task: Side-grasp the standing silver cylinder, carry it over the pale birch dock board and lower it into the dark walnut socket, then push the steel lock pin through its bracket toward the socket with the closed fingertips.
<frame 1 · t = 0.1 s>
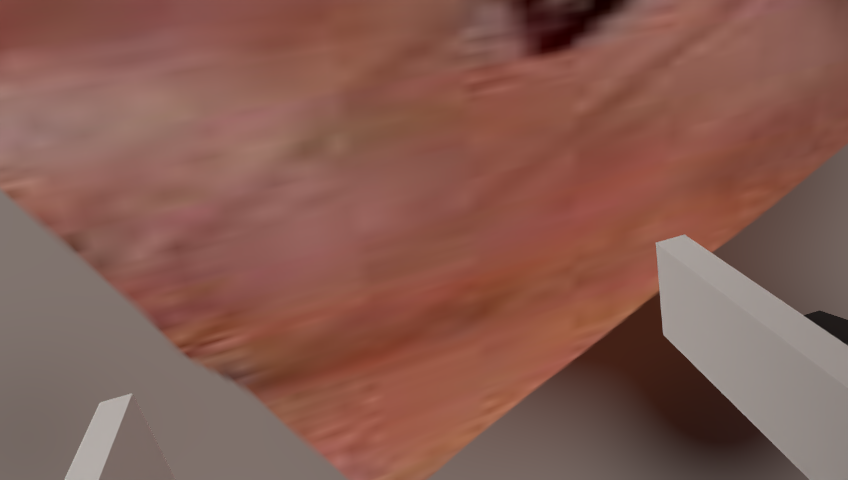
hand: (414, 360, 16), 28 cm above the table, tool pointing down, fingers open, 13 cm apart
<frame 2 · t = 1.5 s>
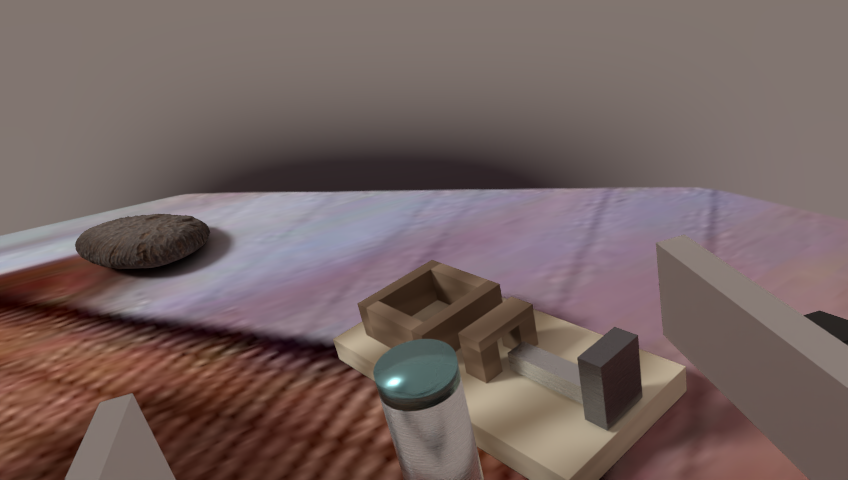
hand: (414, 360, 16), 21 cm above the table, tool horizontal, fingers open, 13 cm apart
lock pin: (563, 357, 41), point 5 cm above the table, slide at 0.0 cm
decorative stone: (153, 257, 85), on the table
dock: (492, 373, 49), on the table
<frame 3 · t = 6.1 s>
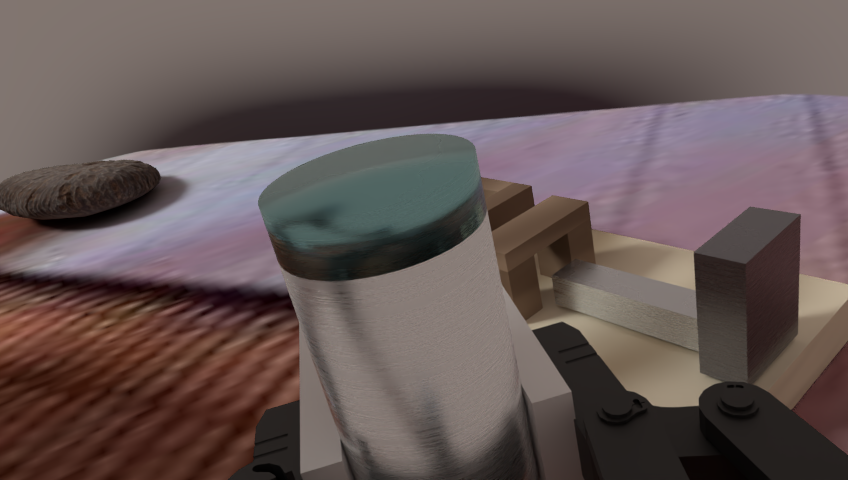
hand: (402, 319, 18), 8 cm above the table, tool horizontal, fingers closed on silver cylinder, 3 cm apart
lock pin: (653, 271, 24), point 5 cm above the table, slide at 0.0 cm
decorative stone: (91, 210, 68), on the table
dock: (523, 318, 31), on the table
when the fingers open (12 cm above the table, at t = 11.1 s): silver cylinder drops 2 cm, resting on dock.
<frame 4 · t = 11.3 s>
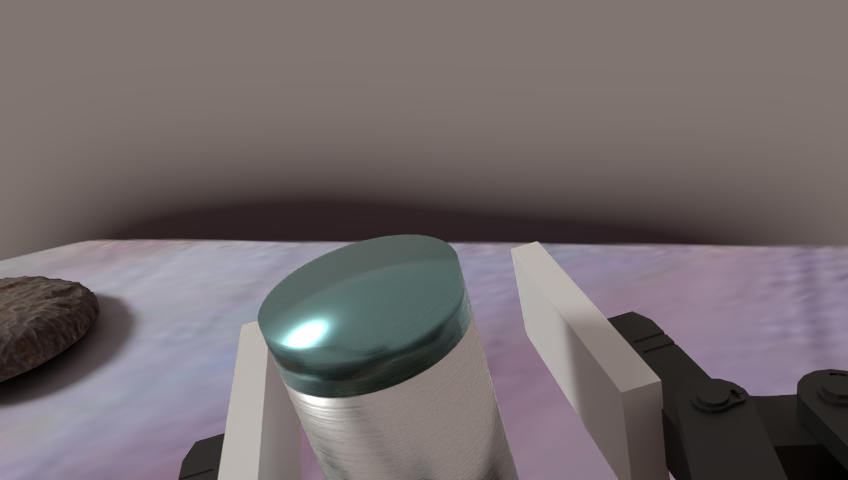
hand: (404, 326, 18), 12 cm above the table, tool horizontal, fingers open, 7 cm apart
decorative stone: (7, 353, 51), on the table
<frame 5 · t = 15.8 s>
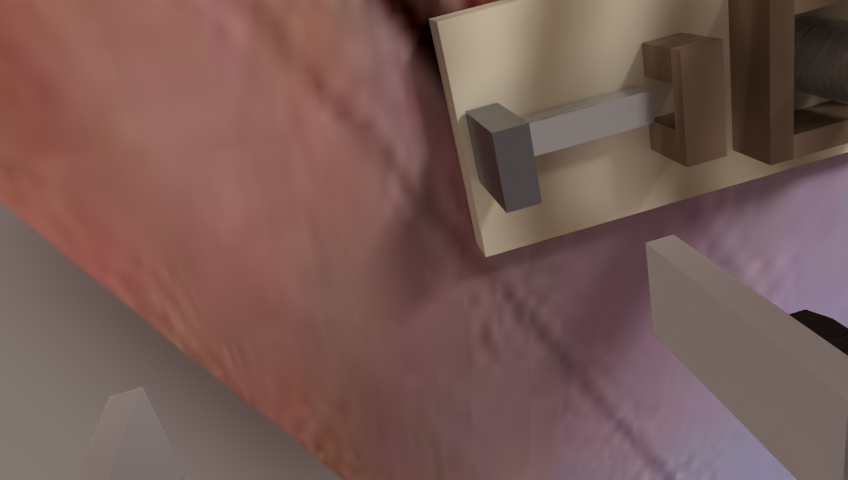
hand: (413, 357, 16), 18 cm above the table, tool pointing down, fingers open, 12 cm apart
lock pin: (574, 134, 30), point 5 cm above the table, slide at 0.0 cm
silver cylinder: (803, 53, 33), point 2 cm above the table, touching dock
dock: (672, 79, 34), on the table
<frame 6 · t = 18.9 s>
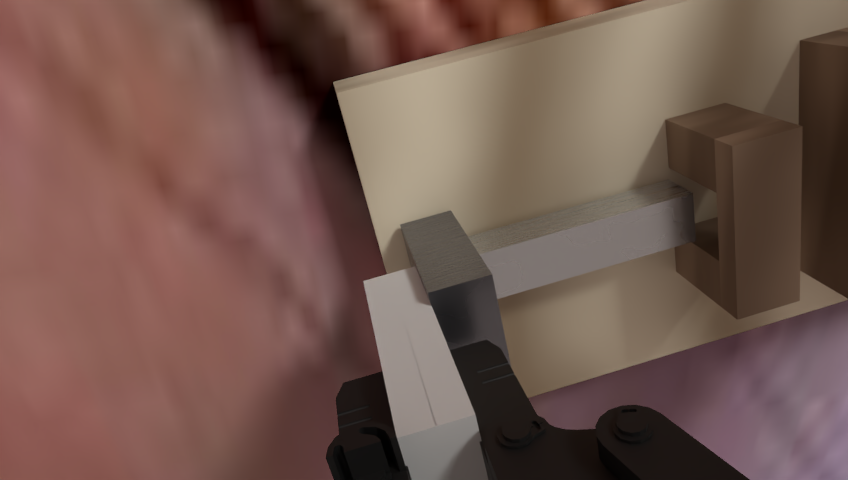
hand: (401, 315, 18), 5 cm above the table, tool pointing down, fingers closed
lock pin: (571, 268, 19), point 4 cm above the table, slide at 0.4 cm, touching gripper
dock: (707, 162, 23), on the table
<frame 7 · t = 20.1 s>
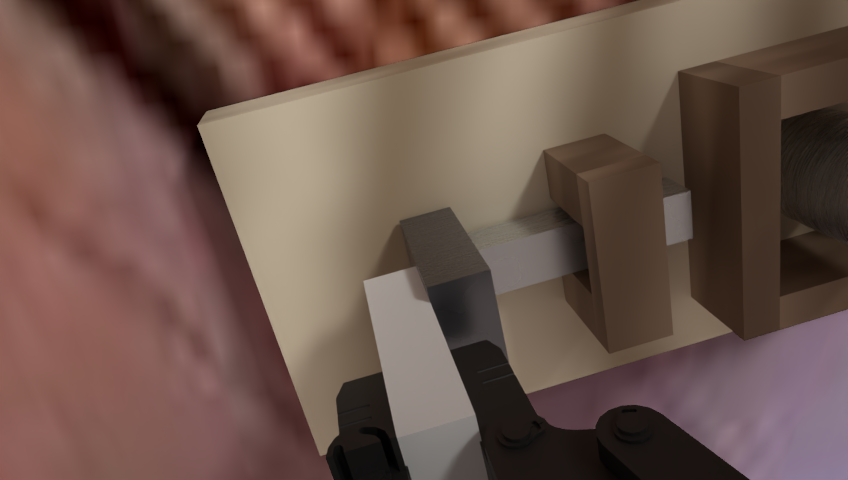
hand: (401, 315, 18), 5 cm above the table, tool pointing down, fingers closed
lock pin: (569, 265, 19), point 4 cm above the table, slide at 4.3 cm, touching gripper
silver cylinder: (798, 160, 22), point 2 cm above the table, touching dock
dock: (601, 189, 23), on the table
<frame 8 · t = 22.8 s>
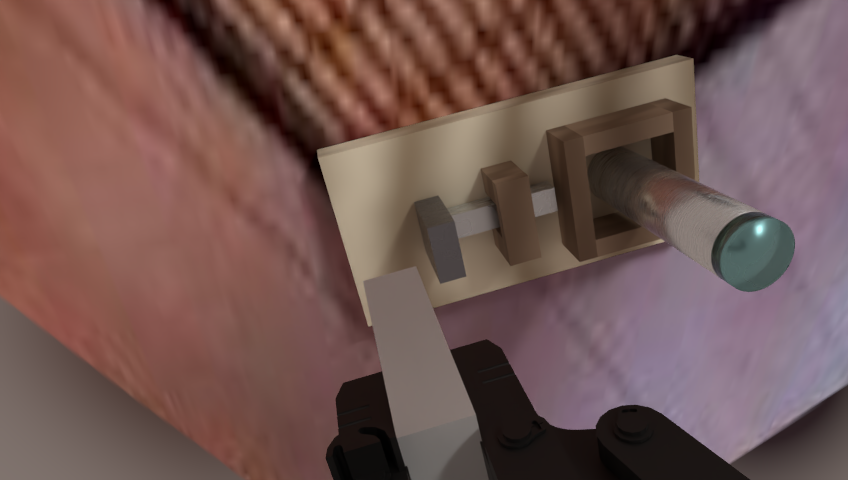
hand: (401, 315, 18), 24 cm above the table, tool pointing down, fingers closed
lock pin: (494, 222, 40), point 5 cm above the table, slide at 4.5 cm
silver cylinder: (612, 173, 43), point 2 cm above the table, touching dock
dock: (515, 188, 44), on the table
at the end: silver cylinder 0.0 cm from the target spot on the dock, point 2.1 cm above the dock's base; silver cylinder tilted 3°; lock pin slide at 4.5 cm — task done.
